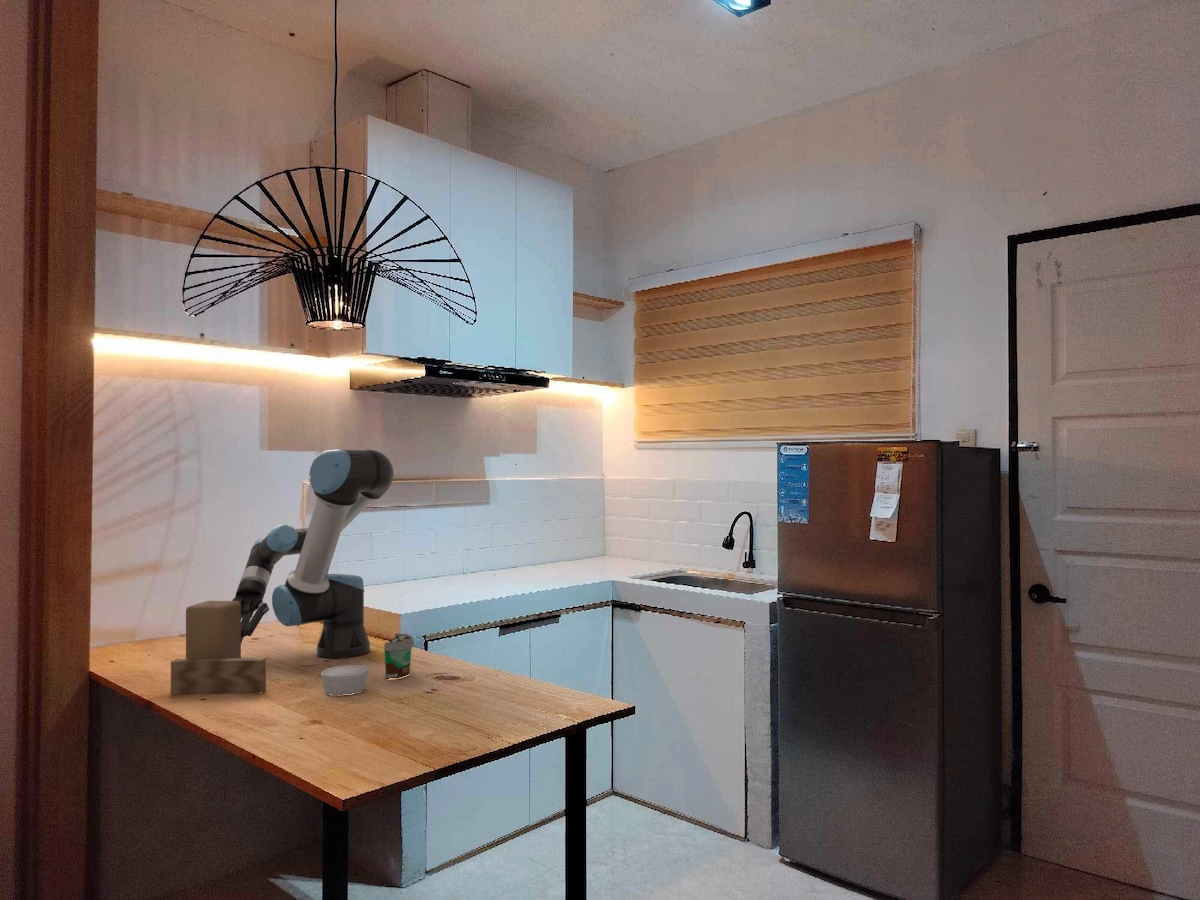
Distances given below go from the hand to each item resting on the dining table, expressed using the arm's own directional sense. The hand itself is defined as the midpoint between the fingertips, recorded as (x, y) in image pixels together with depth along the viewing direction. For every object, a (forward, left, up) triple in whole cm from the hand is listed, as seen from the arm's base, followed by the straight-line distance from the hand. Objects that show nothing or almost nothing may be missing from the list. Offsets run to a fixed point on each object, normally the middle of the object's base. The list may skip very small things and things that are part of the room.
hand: (228, 656), depth 224 cm
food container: (-48, +8, -4) cm, 49 cm away
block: (0, +10, -4) cm, 11 cm away
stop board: (-6, +21, -4) cm, 23 cm away
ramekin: (-37, +22, -4) cm, 44 cm away
